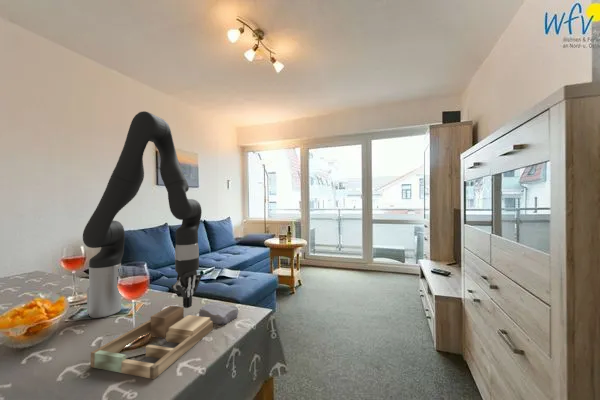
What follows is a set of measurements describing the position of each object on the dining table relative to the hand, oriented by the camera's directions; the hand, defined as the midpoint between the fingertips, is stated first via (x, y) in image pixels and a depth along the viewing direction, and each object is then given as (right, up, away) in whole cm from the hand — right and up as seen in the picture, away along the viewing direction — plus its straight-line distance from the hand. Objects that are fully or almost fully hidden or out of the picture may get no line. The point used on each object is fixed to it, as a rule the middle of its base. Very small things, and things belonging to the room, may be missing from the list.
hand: (187, 306), depth 87 cm
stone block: (+11, -4, +1) cm, 12 cm away
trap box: (0, -4, -17) cm, 17 cm away
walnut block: (-2, -4, -9) cm, 10 cm away
